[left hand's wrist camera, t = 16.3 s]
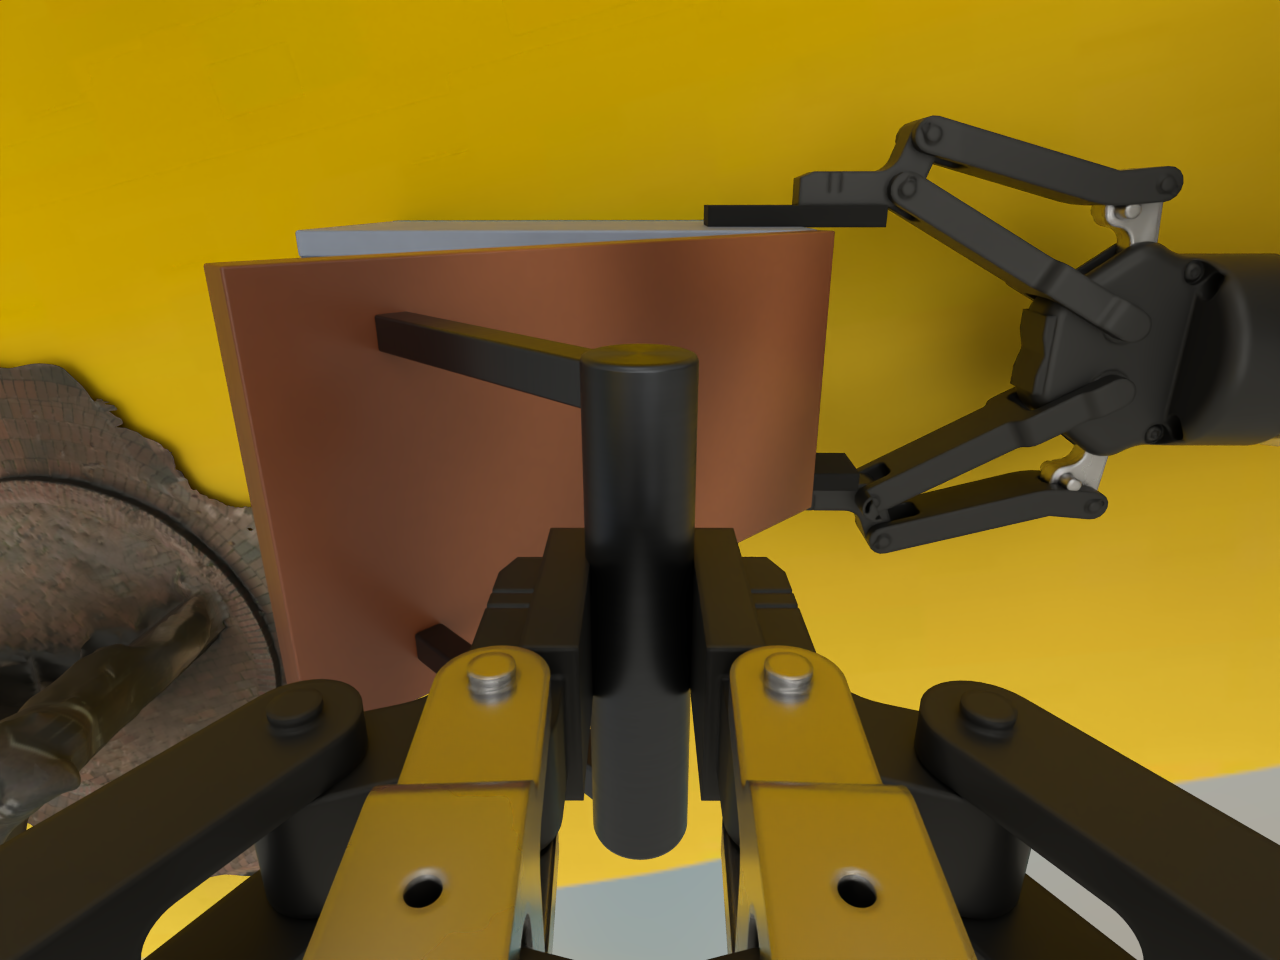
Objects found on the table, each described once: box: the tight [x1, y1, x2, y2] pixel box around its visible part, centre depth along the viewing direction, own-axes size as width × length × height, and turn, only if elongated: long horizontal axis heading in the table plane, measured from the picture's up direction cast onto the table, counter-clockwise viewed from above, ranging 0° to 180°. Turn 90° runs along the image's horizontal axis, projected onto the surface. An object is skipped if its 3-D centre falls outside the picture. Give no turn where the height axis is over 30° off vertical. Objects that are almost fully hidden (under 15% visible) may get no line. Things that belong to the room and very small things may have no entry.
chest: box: [296, 220, 815, 258], centre depth 32 cm, size 18×10×11 cm, turn 90°
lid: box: [204, 230, 835, 860], centre depth 18 cm, size 18×10×8 cm
